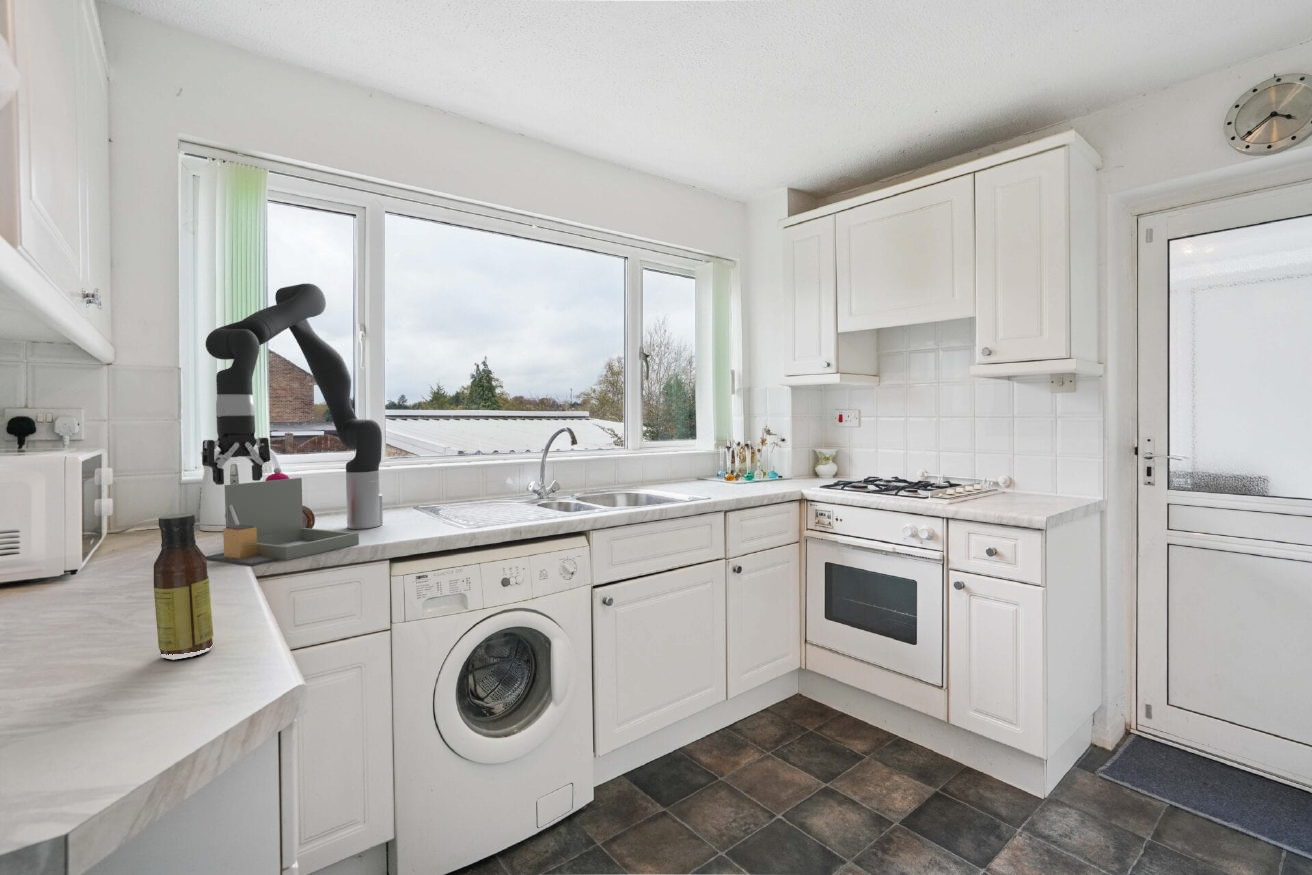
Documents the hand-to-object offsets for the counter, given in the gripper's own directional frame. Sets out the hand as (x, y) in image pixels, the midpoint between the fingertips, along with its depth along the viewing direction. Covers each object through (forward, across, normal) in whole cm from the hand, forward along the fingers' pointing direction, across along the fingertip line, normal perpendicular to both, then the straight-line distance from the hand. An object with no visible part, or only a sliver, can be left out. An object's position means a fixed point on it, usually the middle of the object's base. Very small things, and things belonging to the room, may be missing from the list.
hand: (238, 482), depth 148 cm
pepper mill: (+19, -21, -17) cm, 33 cm away
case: (+19, -14, 0) cm, 23 cm away
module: (+18, 0, 0) cm, 18 cm away
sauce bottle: (+18, +41, +55) cm, 71 cm away
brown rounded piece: (+19, -27, -22) cm, 40 cm away
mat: (+18, 0, 0) cm, 19 cm away
